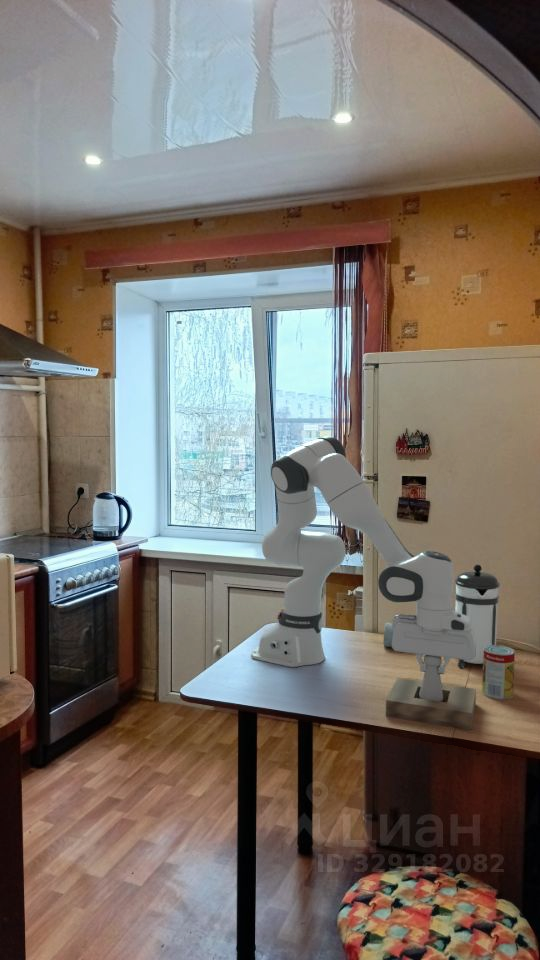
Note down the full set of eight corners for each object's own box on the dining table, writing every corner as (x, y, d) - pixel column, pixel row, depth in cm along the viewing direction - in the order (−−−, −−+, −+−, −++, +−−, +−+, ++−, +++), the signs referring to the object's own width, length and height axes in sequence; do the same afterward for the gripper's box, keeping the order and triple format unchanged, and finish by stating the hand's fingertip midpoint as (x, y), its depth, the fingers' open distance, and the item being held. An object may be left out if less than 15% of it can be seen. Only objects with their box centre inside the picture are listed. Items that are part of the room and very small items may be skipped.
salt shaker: (443, 711, 163) (446, 659, 162) (419, 709, 164) (422, 657, 163) (441, 702, 168) (443, 652, 168) (418, 700, 169) (420, 650, 168)
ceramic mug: (409, 652, 210) (409, 628, 210) (382, 649, 212) (383, 625, 212) (410, 642, 221) (411, 619, 220) (385, 640, 223) (386, 617, 222)
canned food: (514, 691, 179) (515, 647, 178) (511, 701, 172) (513, 656, 171) (483, 686, 182) (485, 643, 182) (480, 696, 175) (481, 651, 174)
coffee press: (513, 664, 200) (517, 565, 198) (478, 675, 191) (482, 571, 189) (466, 648, 214) (469, 556, 212) (432, 657, 205) (435, 561, 203)
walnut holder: (385, 716, 162) (386, 700, 162) (397, 692, 177) (397, 677, 177) (471, 729, 155) (471, 713, 155) (475, 704, 170) (476, 688, 170)
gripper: (389, 616, 165) (388, 670, 166) (476, 625, 158) (473, 682, 159) (394, 610, 171) (393, 662, 172) (477, 618, 164) (475, 673, 165)
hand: (432, 672), depth 165 cm, fingers closed on salt shaker, 3 cm apart
